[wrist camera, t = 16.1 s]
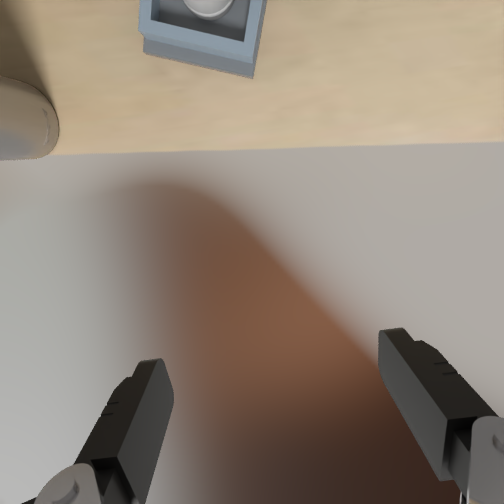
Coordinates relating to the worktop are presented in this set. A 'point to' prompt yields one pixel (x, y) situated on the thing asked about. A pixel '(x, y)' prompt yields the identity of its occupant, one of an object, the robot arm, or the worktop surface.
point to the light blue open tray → (204, 35)
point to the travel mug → (209, 8)
